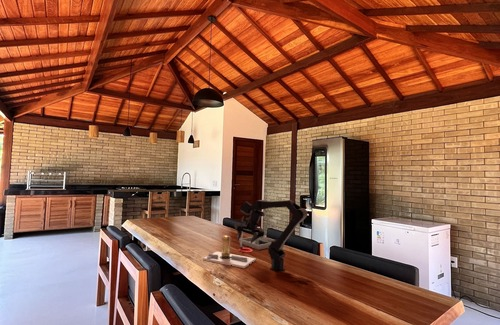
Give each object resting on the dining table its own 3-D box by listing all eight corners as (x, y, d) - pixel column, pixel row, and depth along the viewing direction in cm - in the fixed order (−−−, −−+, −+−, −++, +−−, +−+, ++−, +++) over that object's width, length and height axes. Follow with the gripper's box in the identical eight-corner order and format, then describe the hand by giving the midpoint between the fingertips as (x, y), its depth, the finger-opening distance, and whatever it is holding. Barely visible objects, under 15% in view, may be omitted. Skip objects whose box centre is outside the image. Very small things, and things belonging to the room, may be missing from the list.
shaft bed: (255, 260, 167) (255, 255, 167) (244, 268, 152) (244, 262, 152) (216, 253, 179) (217, 248, 179) (203, 259, 164) (203, 254, 164)
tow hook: (254, 251, 189) (242, 248, 192) (255, 232, 189) (244, 230, 193) (249, 254, 181) (237, 251, 185) (250, 235, 181) (238, 232, 185)
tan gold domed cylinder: (230, 258, 165) (231, 237, 165) (221, 258, 164) (222, 237, 164) (229, 255, 170) (230, 235, 170) (221, 255, 169) (221, 235, 169)
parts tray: (279, 245, 204) (279, 241, 205) (258, 249, 190) (258, 245, 190) (260, 239, 221) (260, 235, 221) (239, 242, 207) (239, 239, 207)
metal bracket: (265, 238, 198) (249, 234, 207) (263, 246, 196) (247, 242, 205) (275, 240, 208) (259, 237, 218) (273, 248, 207) (257, 244, 216)
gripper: (263, 216, 173) (253, 237, 175) (237, 209, 166) (227, 231, 169) (269, 225, 162) (259, 247, 165) (241, 218, 156) (231, 241, 158)
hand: (244, 241), depth 165 cm, fingers open, 9 cm apart
